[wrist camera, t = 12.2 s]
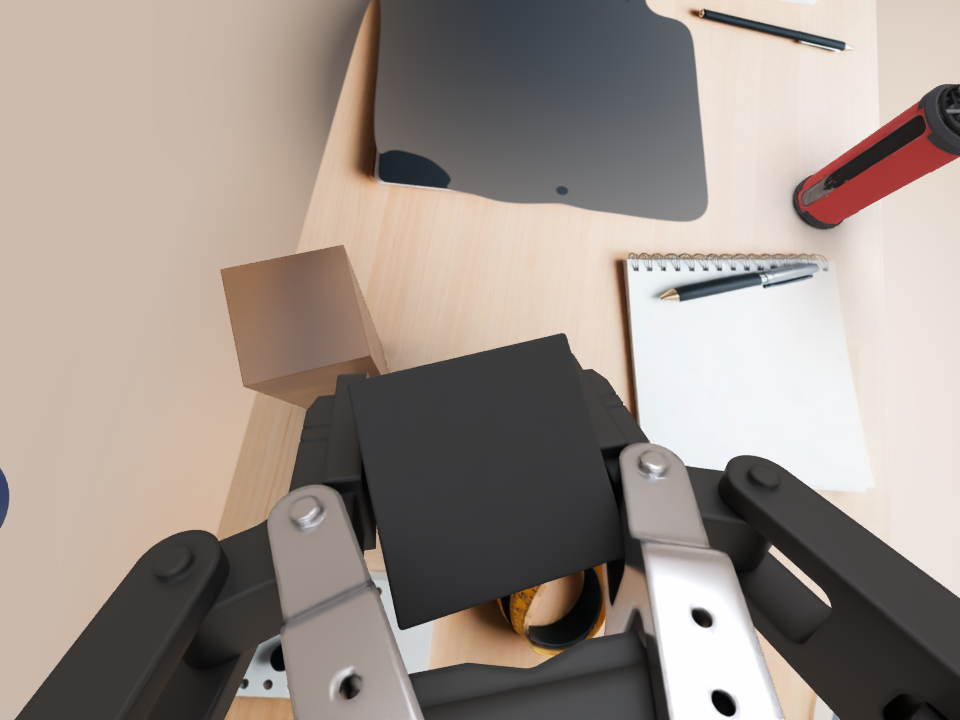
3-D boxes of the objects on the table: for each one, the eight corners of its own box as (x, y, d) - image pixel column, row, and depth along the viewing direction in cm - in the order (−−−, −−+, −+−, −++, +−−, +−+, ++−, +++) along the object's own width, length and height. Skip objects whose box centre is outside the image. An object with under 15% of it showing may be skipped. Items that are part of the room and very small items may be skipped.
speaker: (786, 180, 63) (927, 76, 45) (834, 178, 64) (990, 77, 46) (799, 231, 61) (950, 144, 44) (848, 229, 62) (1014, 143, 45)
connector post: (412, 528, 17) (399, 633, 7) (387, 419, 18) (345, 383, 8) (517, 497, 18) (633, 555, 8) (490, 394, 18) (566, 331, 9)
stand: (332, 417, 49) (243, 386, 24) (318, 356, 50) (219, 269, 26) (395, 401, 50) (370, 355, 26) (380, 341, 51) (343, 244, 27)
